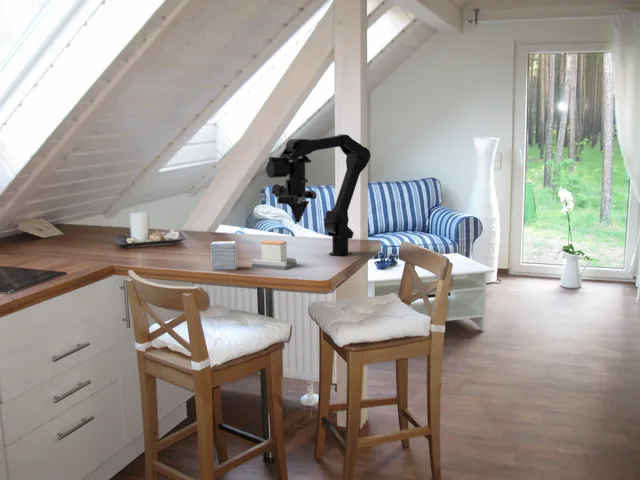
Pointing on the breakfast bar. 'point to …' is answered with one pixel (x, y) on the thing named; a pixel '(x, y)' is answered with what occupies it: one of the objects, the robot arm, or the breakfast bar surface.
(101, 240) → the breakfast bar surface
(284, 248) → the block
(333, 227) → the robot arm
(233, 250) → the medicine box
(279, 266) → the rail cradle
